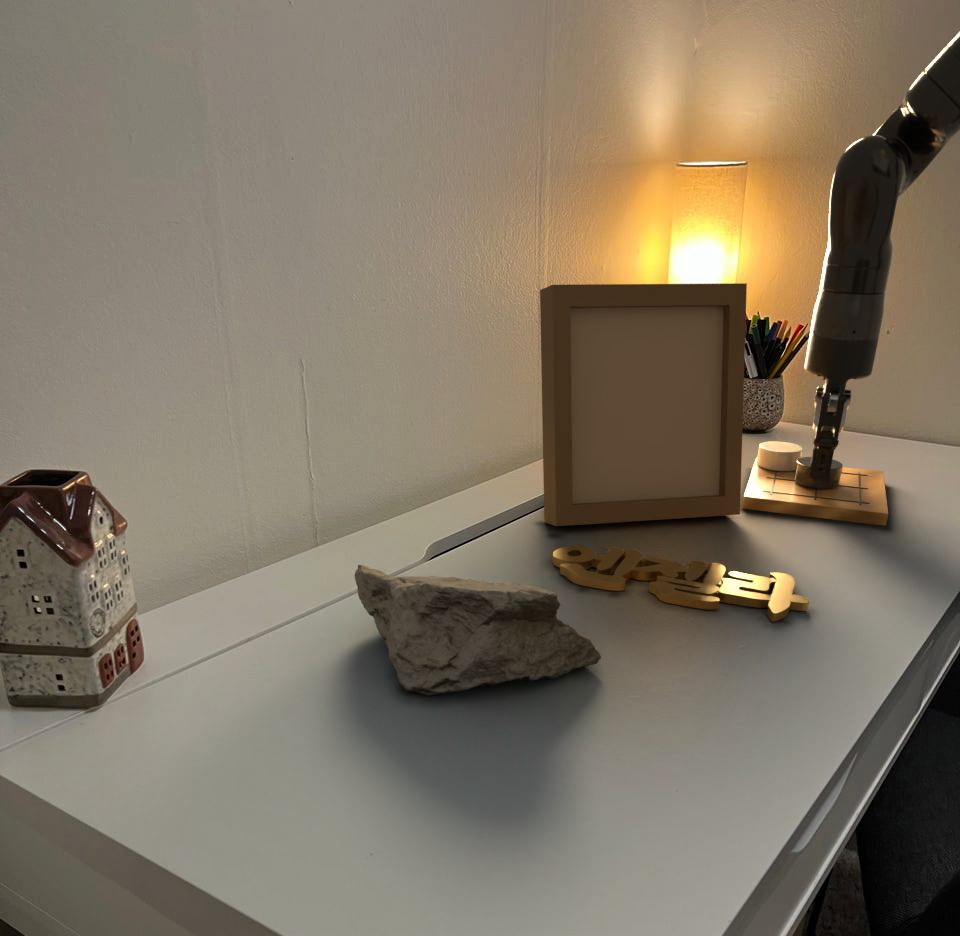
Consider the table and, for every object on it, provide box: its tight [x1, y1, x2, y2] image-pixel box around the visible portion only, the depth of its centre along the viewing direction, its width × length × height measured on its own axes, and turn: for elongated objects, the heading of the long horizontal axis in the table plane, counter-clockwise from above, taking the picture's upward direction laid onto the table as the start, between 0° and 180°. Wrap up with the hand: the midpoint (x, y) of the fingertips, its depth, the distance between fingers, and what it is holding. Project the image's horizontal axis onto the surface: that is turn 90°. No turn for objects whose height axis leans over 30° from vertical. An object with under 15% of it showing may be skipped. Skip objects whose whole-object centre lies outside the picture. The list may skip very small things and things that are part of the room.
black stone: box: [794, 456, 844, 489], centre depth 117 cm, size 5×5×2 cm
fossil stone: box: [354, 564, 602, 697], centre depth 76 cm, size 20×15×10 cm
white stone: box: [756, 440, 804, 471], centre depth 124 cm, size 5×5×2 cm
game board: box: [741, 457, 889, 527], centre depth 118 cm, size 16×18×2 cm
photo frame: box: [539, 282, 748, 527], centre depth 107 cm, size 15×22×25 cm
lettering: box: [551, 544, 810, 622], centre depth 92 cm, size 25×10×1 cm, turn 68°
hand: (819, 469), depth 117 cm, fingers open, 8 cm apart
